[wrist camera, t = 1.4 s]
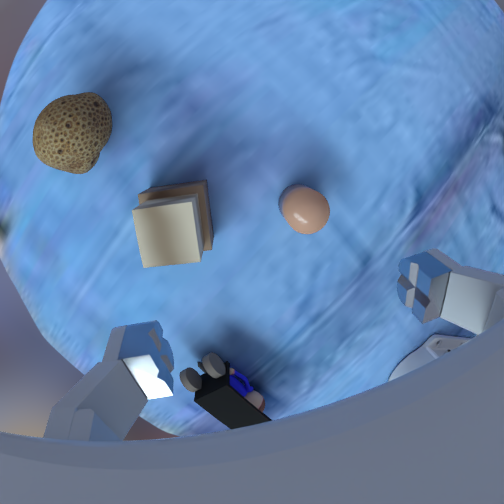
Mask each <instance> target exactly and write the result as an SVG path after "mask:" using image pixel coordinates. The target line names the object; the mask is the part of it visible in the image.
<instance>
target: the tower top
mask: <svg viewBox="0 0 504 504" xmlns="http://www.w3.org/2000/svg"><path fill="white" fill-rule="evenodd" d="M132 213H133V219H134V224H135V230H136V235H137V240H138V245H139V250H140V254H141V259H142V263H143V268H146V267H156V266H166V265H175V264H185V263H194V262H201V258H202V253H203V249H204V245H205V244H204V237H203V230H202V222H201V215H200V207H199V199H198V193H196V194H188V195H181V196H173V197H166V198H159V199H153V200H146V201H145V202H143V203H142V204H140V205H139V206H138V207H136V208H135V209H133V210H132Z"/></svg>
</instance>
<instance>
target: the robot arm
mask: <svg viewBox="0 0 504 504" xmlns="http://www.w3.org/2000/svg"><path fill="white" fill-rule="evenodd" d="M399 272H400V273H401V276H400V278H399V279H398V281H397V292H398V297H399V298H400V300H401V302H402V303H403V304H404V305H405V306H407V307H410V308H412V314H413V315H414V316H415V317H416V318H417V319H418V320H419V321H420V322H421V323H422V324H423V323H426V322H428V321H431V320H433V319H435V318H438V317H440V316H441V317H440V318H443V319H445V320H447V321H449V322H451V323H453V324H456V325H458V326H460V327H462V328H464V329H466V330H469V331H471V332H473V333H475V334H477V336H475V337H474V338H464V337H455V336H446V335H437V334H435V335H432V336H431V337H430V338H429V339H428V340H427V341H426V342H425V343H424V344H423V345H422V346H421V347H420V348H419V349H417V350H416V351H414V352H413V353H411V354H410V355H409V356H407V357H406V358H405V359H404V360H403V361H402V362H401V363H400V364H399V365H398V366H397V367H396V369H395V370H394V371H393V373H392V374H391V376H390V378H389V380H388V382H386V383H384V384H382V385H379V386H377V387H374V388H372V389H369V390H367V391H364V392H362V393H359V394H356V395H354V396H351V397H348V398H346V399H343V400H340V401H337V402H334V403H331V404H328V405H325V406H322V407H319V408H316V409H312V410H309V411H306V412H302V413H299V414H295V415H292V416H288V417H284V418H280V419H276V420H272V421H268V422H264V423H260V424H255V425H251V426H246V427H241V428H236V429H230V430H225V431H219V432H213V433H207V434H200V435H192V436H184V437H175V438H165V439H154V440H137V441H123V439H124V438H125V436H126V434H127V433H128V431H129V430H130V428H131V427H132V425H133V423H134V422H135V420H136V419H137V417H138V416H139V414H140V413H141V411H142V409H143V408H144V406H145V405H146V403H147V402H148V399H152V398H159V397H165V396H171V395H173V377H172V375H171V374H170V373H171V371H172V370H173V369H174V359H173V353H172V350H171V347H170V345H169V342H168V341H167V340H166V339H164V338H163V337H162V336H163V329H162V327H161V325H160V323H159V322H158V321H157V320H155V321H149V322H143V323H137V324H131V325H125V326H120V327H115V328H113V329H112V331H111V334H110V337H109V340H108V343H107V347H106V350H105V353H104V357H103V360H102V362H99V363H97V364H96V365H95V366H94V367H93V368H92V369H91V370H90V371H89V372H88V373H87V374H86V375H85V376H84V377H83V378H82V379H81V380H80V381H79V382H78V383H77V384H76V385H75V386H74V387H73V388H71V389H70V391H69V392H67V393H66V394H65V395H64V396H63V398H61V399H60V401H58V402H57V403H56V404H55V405H54V406H53V407H52V410H51V413H50V416H49V420H48V423H47V426H46V430H45V433H44V437H43V438H39V437H31V436H24V435H17V434H11V433H6V432H1V431H0V504H504V275H501V274H497V273H493V272H489V271H485V270H481V269H477V268H473V267H469V266H464V267H462V266H461V265H460V264H458V263H457V262H455V261H454V260H453V259H451V258H450V257H448V256H447V255H445V254H444V253H442V252H441V251H439V250H438V249H436V248H432V249H429V250H426V251H424V252H422V253H419V254H416V255H413V256H410V257H407V258H403V259H401V261H400V263H399Z"/></svg>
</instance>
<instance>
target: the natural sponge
mask: <svg viewBox="0 0 504 504" xmlns="http://www.w3.org/2000/svg"><path fill="white" fill-rule="evenodd" d="M111 131H112V116H111V111H110V109H109V107H108V105H107V104H106V102H105V101H104V100H103V99H102V98H101V97H100V96H99V95H97V94H95V93H90V92H87V93H81V94H76V95H67V96H63V97H60V98H58V99H56V100H54V101H52V102H51V103H50V104H48V105H47V106H46V107H45V108H44V109H43V110H42V112H41V113H40V114H39V116H38V118H37V119H36V122H35V125H34V129H33V147H34V151H35V153H36V155H37V157H38V158H39V159H40V160H41V161H42V162H43V163H44V164H46V165H48V166H50V167H53V168H55V169H58V170H62V171H66V172H70V173H74V174H83V173H86V172H88V171H89V170H90V169H91V168H92V167H93V166H94V165H95V164H96V162H97V160H98V158H99V155H100V151H101V150H102V149H103V147H104V146H105V145H106V143H107V141H108V139H109V137H110V135H111Z"/></svg>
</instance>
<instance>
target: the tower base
mask: <svg viewBox="0 0 504 504" xmlns="http://www.w3.org/2000/svg"><path fill="white" fill-rule="evenodd" d="M196 193H198V199H199V207H200V215H201V222H202V230H203V237H204V244H205V245H204V249H203V251H207V250H212V245H213V238H214V235H213V227H212V220H211V212H210V204H209V196H208V188H207V180H202V181H194V182H187V183H180V184H173V185H166V186H160V187H153V188H149V189H147V190H145V191H143V192H142V193H140V194H138V198H139V204H142V203H143V202H145V201H146V200H153V199H159V198H166V197H173V196H181V195H188V194H196Z"/></svg>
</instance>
